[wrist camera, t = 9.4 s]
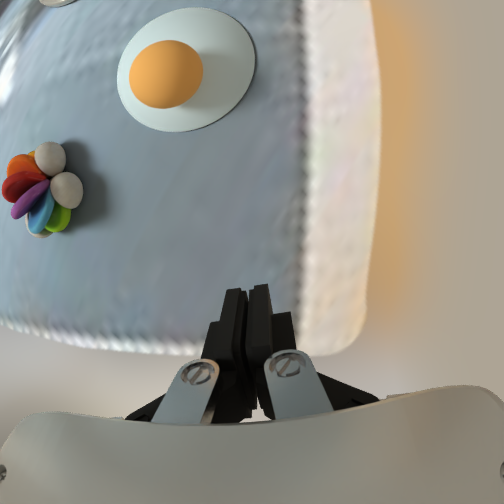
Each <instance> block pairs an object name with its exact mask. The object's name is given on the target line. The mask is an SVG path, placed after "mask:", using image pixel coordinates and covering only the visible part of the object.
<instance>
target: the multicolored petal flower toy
mask: <svg viewBox="0 0 504 504" xmlns="http://www.w3.org/2000/svg"><path fill="white" fill-rule="evenodd" d="M65 163H66V155H65V151H64V149H63V148H62V147H61V146H60V145H59V144H58V143H55V142H45V143H43V144H41V145H40V146H38V147H37V149H36V150H35V151H32V152H30V153H29V154H28V155H26V154H21V155H17V156H15V157H14V158H12V159H11V161H10V162H9V164H8V167H7V179H6V180H5V181H4V183H3V185H2V195H3V197H4V198H5V199H6V200H7V201H9V202H11V203H15V204H14V205H13V207H12V209H11V216H12V217H13V218H14V219H19V218H21V217H22V216H24V215H25V214H26V218H25V222H26V227H27V229H28V231H29V232H30V233H31V234H32V235H33V236H35V237H37V238H45V237H48V236H50V235H51V234H52V233H53V232H59V231H62V230H63V229H65V228H66V226H67V225H68V223H69V221H70V217H71V209H73V208H76V207H77V206H78V205H79V204H80V202H81V200H82V197H83V186H82V183H81V181H80V179H79V178H78V177H77V176H76V175H74V174H72V173H69V172H62V171H63V169H64V167H65ZM61 172H62V173H61ZM52 177H53V178H52ZM51 178H52V180H51V182H50V179H51Z"/></svg>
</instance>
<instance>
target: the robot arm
mask: <svg viewBox="0 0 504 504" xmlns="http://www.w3.org/2000/svg"><path fill="white" fill-rule="evenodd" d="M39 1H40V2H41V3H42V4H44V5H45V6H48V7H60V6H64V5H66V4H68V3H71V2H73V1H74V0H39ZM257 397H258V400H259V404H260V407H261V409H263V411H264V414H265V416H266V417H268V418H270V419H271V420H269V421H258V422H244V423H239V422H240V421H242V420H243V419H244V418H251V417H252V410H255V409H257ZM0 504H504V402H503V401H502V400H501V399H500V398H499V397H498V396H497V395H495V394H494V393H493V392H491V391H490V390H488V389H486V388H483V387H479V386H472V385H457V386H445V387H438V388H431V389H427V390H422V391H417V392H413V393H405V394H395V395H387V398H386V399H378V398H377V397H376V396H374V395H372V394H370V393H367V392H365V391H362V390H360V389H357V388H354V387H352V386H349V385H347V384H344V383H342V382H339V381H337V380H335V379H333V378H330V377H328V376H325V375H323V374H320V373H318V372H316V370H315V368H314V366H313V364H312V361H311V359H310V358H309V356H308V355H307V354H306V353H304V352H302V351H299V350H297V349H296V343H295V336H294V330H293V324H292V318H291V312H284V313H277V314H273V311H272V305H271V299H270V294H269V288H268V284H262V285H256V286H254V289H252V290H249V302H248V297H247V292H246V291H241V288H235V289H228V290H227V291H226V295H225V299H224V303H223V308H222V312H221V316H220V321H216V322H211V323H210V326H209V329H208V333H207V337H206V340H205V344H204V348H203V352H202V355H201V359H197V360H193V361H191V362H188V363H186V364H185V365H184V366H182V367H181V368H180V370H179V371H178V373H177V374H176V377H175V378H174V380H173V382H172V383H171V386H170V387H169V389H168V391H167V393H165V394H164V395H162V396H160V397H159V398H157V399H155V400H154V401H152V402H150V403H148V404H147V405H145V406H143V407H142V408H140V409H138V410H136V411H135V412H133V413H131V414H130V415H128V416H127V417H126V418H125V420H124V419H123V418H122V417H115V418H104V417H97V416H90V415H83V414H76V413H68V412H42V413H36V414H32V415H30V416H27V417H25V418H24V419H22V420H21V422H19V424H18V425H17V426H16V427H15V428H14V430H13V431H12V432H11V434H10V435H9V437H8V438H7V440H6V441H5V443H4V445H3V446H2V448H1V449H0Z"/></svg>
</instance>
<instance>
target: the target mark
mask: <svg viewBox="0 0 504 504" xmlns="http://www.w3.org/2000/svg"><path fill="white" fill-rule="evenodd" d="M164 40H176V41H180V42H183V43H185V44H187V45H189V46H190V47H192V48H193V49H194V50H195V51H196V52H197V53H198V55H199V57H200V59H201V61H202V65H203V78H202V81H201V84H200V86H199V88H198V90H197V91H196V93H195V94H194V95H193V96H192V97H191V98H190V99H189V100H187V101H186V102H184V103H183V104H181V105H179V106H176V107H172V108H167V109H158V108H152V107H149V106H147V105H145V104H143V103H142V102H140V101H139V100H138V99H137V98H136V97H135V95H134V94H133V92H132V90H131V88H130V84H129V72H130V68H131V65H132V63H133V61H134V59H135V58H136V56H137V55H138V54H139V53H140V52H141V51H142V50H143V49H145V48H146V47H147V46H149V45H151V44H153V43H156V42H159V41H164ZM254 67H255V54H254V48H253V45H252V42H251V39H250V37H249V35H248V34H247V32H246V31H245V29H244V28H243V27H242V26H241V25H240V24H239V23H238V22H237V21H236V20H234V19H233V18H232V17H230V16H228V15H226V14H225V13H222V12H220V11H217V10H213V9H209V8H200V7H194V8H183V9H178V10H174V11H171V12H168V13H166V14H163V15H161V16H159V17H157V18H155V19H154V20H152V21H151V22H149V23H148V24H147V25H145V26H144V27H143V28H142V29H141V30H140V31H138V32H137V33H136V35H135V36H134V37H133V38H132V39H131V41H130V42H129V44H128V45H127V47H126V48H125V50H124V52H123V54H122V57H121V60H120V63H119V67H118V73H117V87H118V92H119V95H120V98H121V101H122V103H123V105H124V106H125V108H126V109H127V111H128V112H129V113H130V114H131V115H132V116H133V117H134V118H135V119H136V120H138V121H139V122H140V123H142V124H144V125H146V126H148V127H150V128H153V129H156V130H161V131H166V132H184V131H190V130H195V129H198V128H201V127H204V126H206V125H208V124H211V123H213V122H214V121H216V120H218V119H220V118H221V117H223V116H224V115H225V114H227V113H228V112H229V111H230V110H231V109H232V108H233V107H234V106H235V105H236V104H237V103H238V102H239V101H240V100H241V98H242V97H243V95H244V94H245V92H246V91H247V89H248V87H249V85H250V83H251V79H252V76H253V73H254Z"/></svg>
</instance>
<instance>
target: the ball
mask: <svg viewBox="0 0 504 504" xmlns="http://www.w3.org/2000/svg"><path fill="white" fill-rule="evenodd" d="M202 78H203V65H202V61H201V59H200V57H199V55H198V53H197V52H196V51H195V50H194V49H193V48H192V47H190V46H189V45H187V44H185V43H183V42H180V41H176V40H164V41H159V42H156V43H153V44H151V45H149V46H147V47H146V48H145V49H143V50H142V51H141V52H140V53H139V54H138V55H137V56H136V58H135V59H134V61H133V63H132V65H131V68H130V72H129V84H130V88H131V90H132V92H133V94H134V95H135V97H136V98H137V99H138V100H139V101H140V102H142V103H143V104H145V105H147V106H149V107H152V108H158V109H167V108H172V107H176V106H179V105H181V104H183V103H184V102H186V101H187V100H189V99H190V98H191V97H192V96H193V95H194V94H195V93H196V91H197V90H198V88H199V86H200V84H201V81H202Z"/></svg>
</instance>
